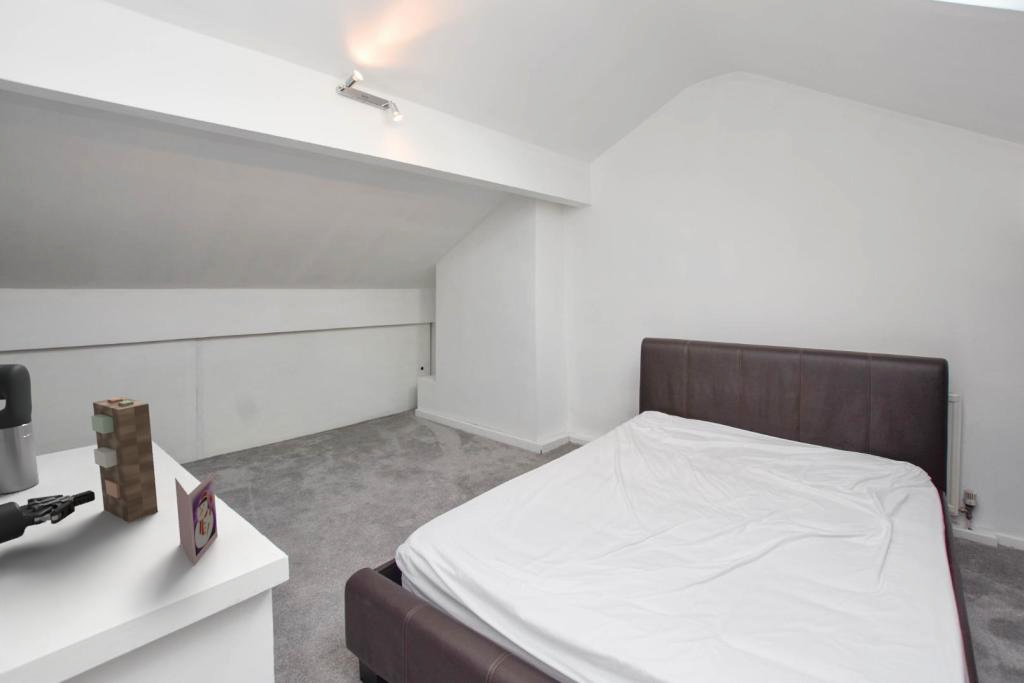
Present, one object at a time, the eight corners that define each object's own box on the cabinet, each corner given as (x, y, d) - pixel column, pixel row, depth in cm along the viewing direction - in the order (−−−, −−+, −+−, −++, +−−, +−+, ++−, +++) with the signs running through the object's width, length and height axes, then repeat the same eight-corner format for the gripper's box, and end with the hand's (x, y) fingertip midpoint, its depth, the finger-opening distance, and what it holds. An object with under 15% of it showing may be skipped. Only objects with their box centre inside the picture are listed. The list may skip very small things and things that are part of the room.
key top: (92, 430, 113) (91, 415, 112) (109, 426, 116) (107, 412, 115) (103, 433, 110) (102, 419, 110) (120, 430, 113) (119, 415, 113)
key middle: (95, 463, 114) (93, 449, 113) (111, 459, 116) (110, 445, 116) (106, 468, 111) (104, 453, 111) (122, 463, 114) (121, 449, 114)
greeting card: (198, 566, 97) (193, 494, 95) (157, 569, 96) (150, 497, 94) (221, 535, 108) (217, 471, 106) (185, 538, 107) (179, 473, 105)
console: (103, 510, 119) (92, 399, 115) (132, 500, 124) (122, 394, 120) (129, 522, 113) (118, 407, 109) (157, 511, 118) (148, 401, 115)
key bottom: (106, 493, 116) (105, 479, 116) (122, 488, 119) (120, 475, 118) (117, 498, 114) (116, 484, 113) (133, 493, 116) (132, 479, 116)
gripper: (-3, 518, 93) (106, 485, 108) (-29, 503, 99) (78, 473, 114) (1, 555, 94) (109, 517, 109) (-24, 537, 100) (81, 503, 115)
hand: (93, 494), depth 111 cm, fingers closed
